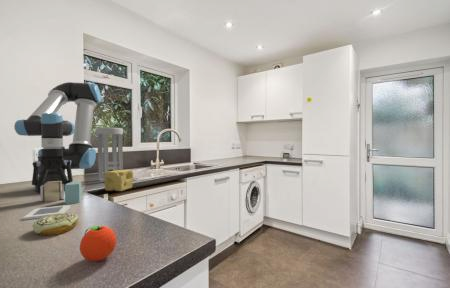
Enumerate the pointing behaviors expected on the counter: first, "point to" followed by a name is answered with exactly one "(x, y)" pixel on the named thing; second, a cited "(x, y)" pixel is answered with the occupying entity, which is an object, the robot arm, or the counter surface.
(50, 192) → the birch block
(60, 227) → the decorated donut
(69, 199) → the teal block
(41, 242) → the counter surface
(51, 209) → the blueprint board
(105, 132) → the stool
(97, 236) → the tomato
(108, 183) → the cheese
